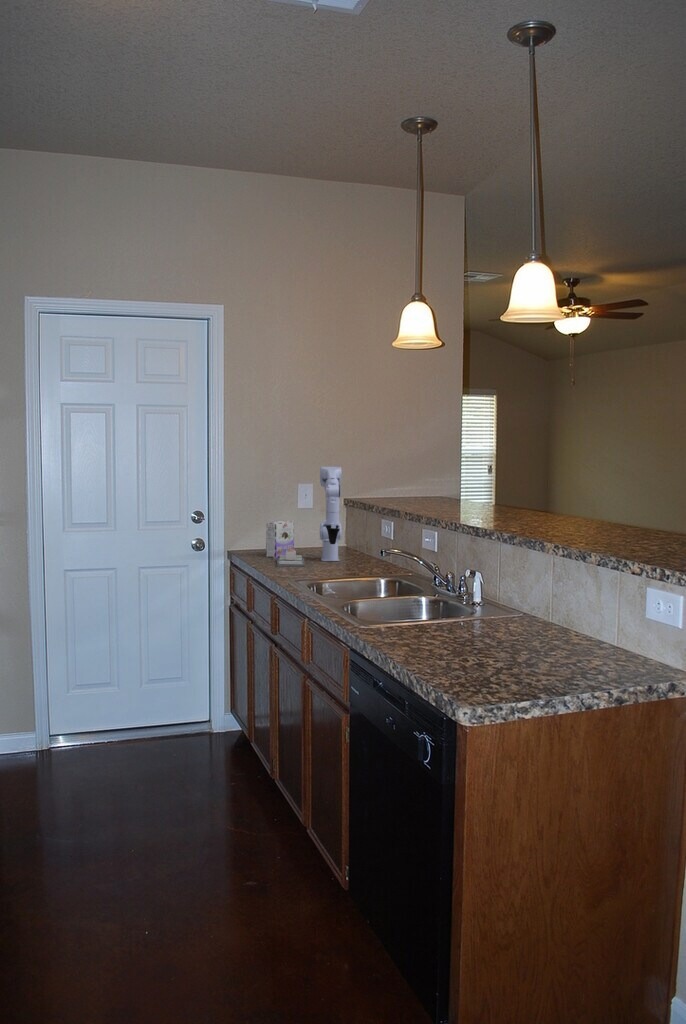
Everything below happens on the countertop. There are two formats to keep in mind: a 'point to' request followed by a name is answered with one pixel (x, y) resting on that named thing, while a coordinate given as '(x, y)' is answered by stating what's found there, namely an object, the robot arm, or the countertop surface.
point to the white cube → (290, 554)
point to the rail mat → (290, 561)
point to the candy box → (279, 538)
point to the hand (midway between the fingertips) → (332, 543)
